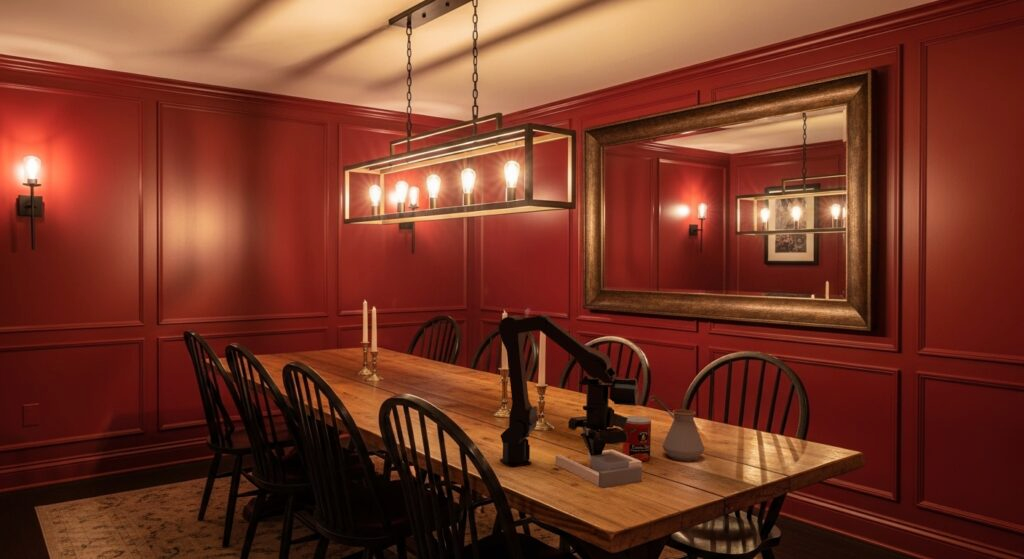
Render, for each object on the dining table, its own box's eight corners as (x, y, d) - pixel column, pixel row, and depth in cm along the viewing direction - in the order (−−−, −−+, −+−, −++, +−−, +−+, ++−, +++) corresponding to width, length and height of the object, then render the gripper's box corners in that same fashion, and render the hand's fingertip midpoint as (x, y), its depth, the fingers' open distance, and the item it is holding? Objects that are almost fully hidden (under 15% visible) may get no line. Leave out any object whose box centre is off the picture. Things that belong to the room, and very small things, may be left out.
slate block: (609, 484, 175) (609, 464, 175) (590, 475, 182) (590, 455, 182) (628, 480, 178) (628, 461, 178) (609, 472, 185) (609, 453, 185)
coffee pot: (712, 460, 198) (714, 406, 197) (678, 464, 193) (680, 409, 193) (666, 441, 217) (667, 392, 217) (634, 445, 213) (635, 395, 212)
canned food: (630, 462, 194) (630, 422, 194) (617, 454, 202) (618, 416, 202) (655, 460, 196) (656, 421, 196) (642, 453, 204) (643, 415, 204)
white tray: (602, 487, 172) (602, 473, 172) (555, 464, 191) (555, 451, 191) (659, 478, 181) (659, 464, 181) (608, 456, 200) (609, 444, 200)
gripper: (645, 407, 180) (643, 468, 181) (601, 393, 197) (600, 450, 197) (609, 410, 175) (607, 473, 175) (567, 397, 191) (566, 454, 192)
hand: (596, 462), depth 185 cm, fingers closed
